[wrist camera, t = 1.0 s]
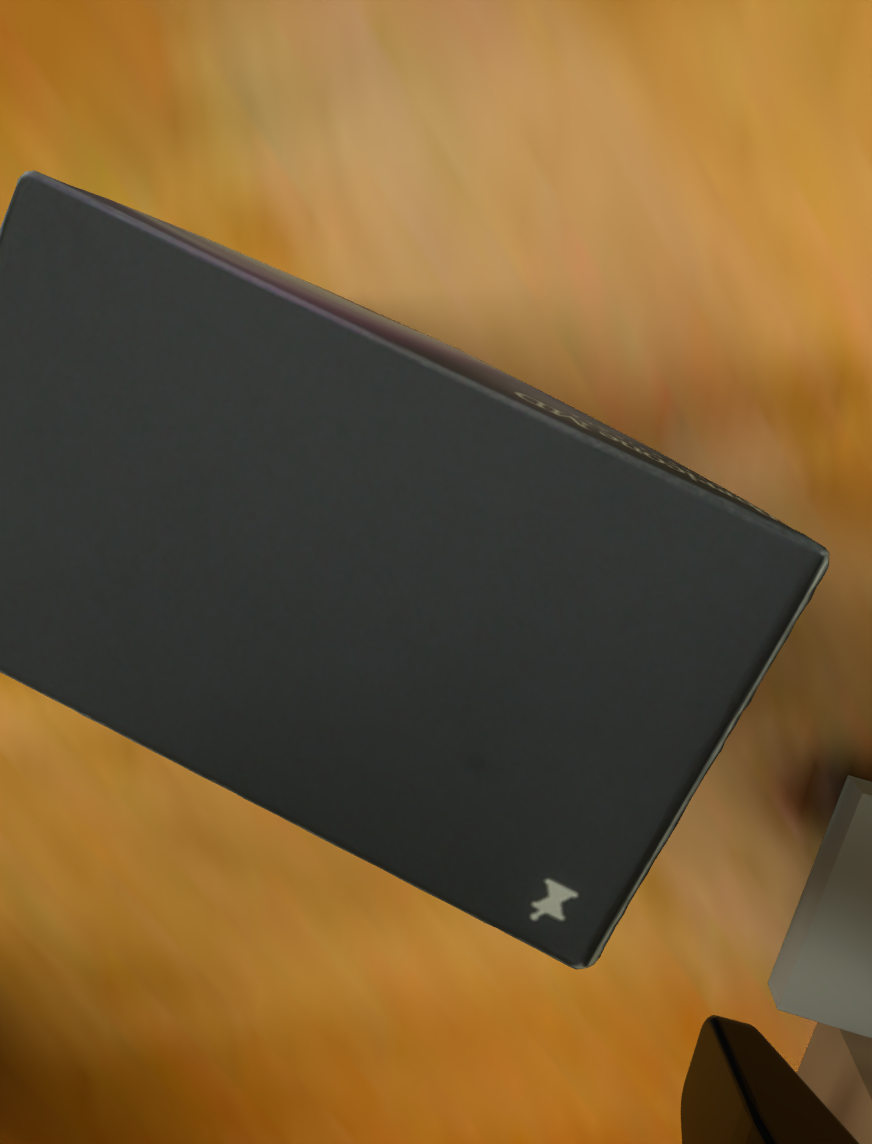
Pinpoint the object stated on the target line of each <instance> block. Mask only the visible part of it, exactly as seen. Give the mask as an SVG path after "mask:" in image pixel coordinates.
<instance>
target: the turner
mask: <svg viewBox="0 0 872 1144" xmlns="http://www.w3.org/2000/svg"><path fill="white" fill-rule="evenodd" d="M768 985H769V988H770V990H771V993H772V996H773V998H774V1001H775V1004H776V1007H777V1009H778V1010H781V1011H784V1012H787V1013H791V1014H794V1015H797V1016H800V1017H804V1018H807V1019H810V1020H813V1021H817V1025H816V1027H815V1030H814V1032H813V1035H812V1037H811V1040H810V1042H809V1045H808V1047H807V1049H806V1052H805V1054H804V1057H803V1059H802V1062H801V1064H800V1067H799V1069H798V1072H797V1074H798V1075H799V1077H800V1078H801V1079H802V1080H803V1081H804V1082H805V1083H806V1084H807V1085H808V1087H809V1088H810V1089H811V1090H812V1091H813V1092H814V1093H815V1094H816V1096H817V1097H818V1098H819V1099H820V1100H821V1101H822V1102H823V1103H824V1104H825V1106H826V1107H827V1108H828V1109H829V1110H830V1111H831V1112H832V1113H833V1114H834V1116H835V1117H836V1118H837V1119H838V1120H839V1121H840V1122H841V1123H842V1125H843V1126H844V1127H845V1128H846V1129H847V1130H848V1131H849V1132H850V1133H851V1135H852V1136H853V1137H854V1138H855V1139H856V1140H857V1141H858V1142H859V1143H860V1144H872V782H871V781H868V780H864V779H860V778H857V777H853V776H850V775H848V776H847V779H846V781H845V784H844V786H843V789H842V792H841V794H840V797H839V799H838V802H837V805H836V807H835V810H834V812H833V815H832V818H831V820H830V823H829V825H828V828H827V831H826V833H825V836H824V838H823V841H822V844H821V846H820V849H819V851H818V854H817V856H816V859H815V862H814V864H813V867H812V869H811V872H810V875H809V877H808V880H807V882H806V885H805V888H804V890H803V893H802V895H801V898H800V901H799V903H798V906H797V908H796V911H795V914H794V916H793V919H792V921H791V924H790V927H789V929H788V932H787V934H786V937H785V940H784V942H783V945H782V947H781V950H780V952H779V955H778V958H777V960H776V963H775V965H774V968H773V971H772V973H771V976H770V978H769V981H768Z"/></svg>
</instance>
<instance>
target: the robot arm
mask: <svg viewBox="0 0 872 1144" xmlns="http://www.w3.org/2000/svg"><path fill="white" fill-rule="evenodd" d="M681 1129H682V1144H860V1143H859V1142H858V1141H857V1140H856V1139H855V1138H854V1137H853V1136H852V1135H851V1133H850V1132H849V1131H848V1130H847V1129H846V1128H845V1127H844V1126H843V1125H842V1123H841V1122H840V1121H839V1120H838V1119H837V1118H836V1117H835V1116H834V1114H833V1113H832V1112H831V1111H830V1110H829V1109H828V1108H827V1107H826V1106H825V1104H824V1103H823V1102H822V1101H821V1100H820V1099H819V1098H818V1097H817V1096H816V1094H815V1093H814V1092H813V1091H812V1090H811V1089H810V1088H809V1087H808V1085H807V1084H806V1083H805V1082H804V1081H803V1080H802V1079H801V1078H800V1077H799V1075H798V1074H797V1073H796V1072H795V1071H794V1070H793V1069H792V1068H791V1067H790V1065H789V1064H788V1063H787V1062H786V1061H785V1060H784V1059H783V1058H782V1056H781V1055H780V1054H779V1053H778V1052H777V1051H776V1050H775V1049H774V1048H773V1046H772V1045H771V1044H770V1043H769V1042H768V1041H767V1040H766V1039H765V1038H764V1036H763V1035H762V1034H761V1033H760V1032H759V1031H758V1030H757V1029H756V1028H755V1027H753V1026H752V1025H750V1024H747V1023H743V1022H739V1021H735V1020H731V1019H728V1018H724V1017H720V1016H716V1015H713V1016H710V1017H708V1018H707V1019H706V1020H705V1022H704V1024H703V1025H702V1028H701V1031H700V1034H699V1037H698V1041H697V1044H696V1047H695V1050H694V1054H693V1057H692V1060H691V1063H690V1067H689V1070H688V1073H687V1076H686V1080H685V1083H684V1087H683V1092H682V1099H681Z"/></svg>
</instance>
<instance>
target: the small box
mask: <svg viewBox="0 0 872 1144" xmlns="http://www.w3.org/2000/svg"><path fill="white" fill-rule="evenodd" d="M828 566H829V552H828V551H827V549H826V548H825V547H823V546H822V545H820V544H819V543H817V542H815V541H814V540H812V539H810V538H809V537H807V536H806V535H804V534H802V533H800V532H798V531H796V530H794V529H792V528H790V527H789V526H787V525H785V524H784V523H782V522H780V521H779V520H777V519H775V518H774V517H772V516H771V515H769V514H768V513H766V512H764V511H763V510H761V509H759V508H757V507H756V506H754V505H752V504H751V503H749V502H747V501H746V500H744V499H742V498H740V497H738V496H736V495H735V494H733V493H731V492H729V491H728V490H726V489H724V488H722V487H721V486H719V485H717V484H715V483H713V482H711V481H710V480H708V479H706V478H704V477H702V476H700V475H699V474H697V473H695V472H693V471H691V470H690V469H688V468H686V467H684V466H682V465H681V464H679V463H677V462H675V461H674V460H672V459H670V458H668V457H666V456H665V455H663V454H661V453H659V452H657V451H656V450H654V449H652V448H650V447H648V446H646V445H644V444H642V443H640V442H638V441H636V440H634V439H632V438H631V437H629V436H627V435H625V434H623V433H621V432H619V431H617V430H615V429H613V428H611V427H609V426H607V425H605V424H604V423H602V422H600V421H598V420H596V419H594V418H592V417H590V416H588V415H586V414H584V413H582V412H580V411H578V410H577V409H575V408H573V407H571V406H569V405H567V404H565V403H563V402H561V401H559V400H557V399H555V398H553V397H551V396H550V395H548V394H546V393H544V392H542V391H540V390H538V389H536V388H534V387H532V386H530V385H528V384H526V383H524V382H522V381H520V380H518V379H516V378H514V377H512V376H510V375H508V374H506V373H504V372H502V371H500V370H498V369H496V368H494V367H492V366H490V365H488V364H486V363H484V362H482V361H480V360H478V359H476V358H474V357H472V356H470V355H468V354H466V353H464V352H462V351H460V350H458V349H456V348H454V347H452V346H450V345H447V344H445V343H443V342H441V341H438V340H436V339H434V338H432V337H429V336H427V335H425V334H423V333H420V332H418V331H416V330H414V329H411V328H409V327H407V326H405V325H403V324H400V323H398V322H396V321H394V320H391V319H389V318H387V317H385V316H382V315H380V314H378V313H376V312H374V311H371V310H369V309H367V308H365V307H363V306H360V305H358V304H356V303H354V302H352V301H350V300H347V299H345V298H343V297H341V296H339V295H336V294H334V293H332V292H330V291H327V290H325V289H323V288H321V287H318V286H316V285H314V284H311V283H309V282H307V281H304V280H302V279H300V278H297V277H295V276H293V275H290V274H288V273H286V272H283V271H281V270H279V269H276V268H274V267H272V266H269V265H267V264H265V263H262V262H260V261H258V260H255V259H253V258H251V257H248V256H246V255H244V254H241V253H239V252H237V251H234V250H232V249H230V248H227V247H225V246H223V245H220V244H218V243H216V242H213V241H211V240H209V239H206V238H204V237H202V236H199V235H197V234H194V233H192V232H189V231H187V230H184V229H182V228H179V227H177V226H174V225H172V224H169V223H167V222H164V221H162V220H159V219H157V218H154V217H152V216H149V215H147V214H144V213H142V212H139V211H137V210H134V209H132V208H129V207H127V206H124V205H122V204H119V203H117V202H114V201H112V200H109V199H107V198H104V197H101V196H98V195H96V194H93V193H90V192H87V191H84V190H82V189H79V188H76V187H73V186H71V185H68V184H65V183H63V182H60V181H58V180H56V179H53V178H51V177H48V176H46V175H44V174H41V173H39V172H36V171H27V172H25V173H24V174H23V175H22V176H21V177H20V178H19V179H18V182H17V186H16V189H15V191H14V194H13V197H12V199H11V202H10V205H9V207H8V210H7V212H6V215H5V218H4V220H3V223H2V225H1V228H0V672H1V673H3V674H5V675H7V676H9V677H11V678H13V679H15V680H17V681H18V682H20V683H22V684H24V685H26V686H28V687H30V688H32V689H34V690H36V691H38V692H40V693H42V694H44V695H46V696H47V697H49V698H51V699H53V700H55V701H57V702H59V703H61V704H63V705H65V706H67V707H69V708H71V709H73V710H75V711H76V712H78V713H80V714H81V715H83V716H85V717H87V718H89V719H91V720H93V721H95V722H98V723H100V724H102V725H104V726H106V727H108V728H110V729H111V730H113V731H115V732H117V733H119V734H121V735H123V736H124V737H126V738H128V739H130V740H132V741H134V742H136V743H138V744H140V745H142V746H144V747H146V748H147V749H149V750H151V751H153V752H155V753H157V754H159V755H161V756H163V757H165V758H167V759H169V760H171V761H173V762H175V763H177V764H179V765H181V766H183V767H185V768H187V769H188V770H190V771H192V772H194V773H196V774H198V775H200V776H202V777H204V778H206V779H208V780H210V781H212V782H214V783H216V784H218V785H220V786H222V787H224V788H226V789H228V790H230V791H232V792H234V793H236V794H237V795H239V796H241V797H243V798H244V799H246V800H248V801H250V802H252V803H254V804H256V805H258V806H260V807H262V808H264V809H266V810H268V811H270V812H272V813H274V814H276V815H278V816H280V817H282V818H284V819H285V820H287V821H289V822H291V823H293V824H295V825H297V826H299V827H301V828H303V829H305V830H306V831H308V832H310V833H312V834H314V835H316V836H318V837H320V838H322V839H324V840H326V841H328V842H329V843H331V844H333V845H335V846H337V847H339V848H341V849H343V850H345V851H347V852H349V853H351V854H353V855H355V856H357V857H359V858H361V859H363V860H365V861H367V862H369V863H371V864H373V865H375V866H377V867H379V868H381V869H383V870H385V871H387V872H389V873H390V874H392V875H394V876H396V877H398V878H400V879H402V880H403V881H405V882H407V883H409V884H411V885H413V886H415V887H417V888H418V889H420V890H422V891H424V892H426V893H428V894H430V895H432V896H434V897H436V898H438V899H440V900H442V901H444V902H446V903H448V904H450V905H452V906H454V907H456V908H458V909H460V910H462V911H464V912H466V913H468V914H469V915H471V916H473V917H475V918H477V919H479V920H481V921H483V922H484V923H487V924H489V925H491V926H493V927H496V928H498V929H500V930H501V931H503V932H505V933H506V934H508V935H510V936H512V937H514V938H516V939H518V940H520V941H522V942H524V943H526V944H528V945H530V946H532V947H534V948H536V949H538V950H539V951H541V952H543V953H545V954H547V955H549V956H551V957H552V958H554V959H556V960H558V961H560V962H562V963H563V964H565V965H567V966H569V967H572V968H574V969H584V968H588V967H590V966H592V965H594V964H595V962H596V961H597V960H598V959H599V958H600V956H601V954H602V952H603V950H604V948H605V945H606V944H607V942H608V940H609V939H610V937H611V935H612V933H613V931H614V929H615V927H616V925H617V924H618V922H619V921H620V919H621V918H622V916H623V915H624V913H625V911H626V909H627V907H628V904H629V903H630V901H631V899H632V898H633V896H634V894H635V893H636V891H637V889H638V888H639V886H640V885H641V883H642V882H643V880H644V878H645V877H646V875H647V874H648V872H649V870H650V868H651V866H652V864H653V863H654V861H655V859H656V858H657V856H658V855H659V853H660V852H661V850H662V848H663V847H664V845H665V844H666V842H667V840H668V839H669V837H670V835H671V834H672V832H673V830H674V829H675V827H676V825H677V824H678V822H679V820H680V818H681V816H682V814H683V813H684V811H685V809H686V807H687V805H688V803H689V801H690V800H691V798H692V796H693V795H694V793H695V791H696V790H697V788H698V786H699V785H700V783H701V781H702V780H703V778H704V776H705V775H706V773H707V771H708V770H709V768H710V767H711V765H712V763H713V762H714V760H715V759H716V757H717V756H718V754H719V753H720V752H721V750H722V748H723V746H724V743H725V740H726V739H727V737H728V736H729V735H730V733H731V732H732V730H733V729H734V727H735V725H736V723H737V722H738V720H739V718H740V716H741V714H742V712H743V711H744V710H745V708H746V707H747V706H748V705H749V703H750V702H751V700H752V698H753V696H754V694H755V692H756V689H757V687H758V686H759V684H760V682H761V681H762V679H763V677H764V675H765V674H766V672H767V670H768V669H769V667H770V666H771V664H772V662H773V661H774V659H775V657H776V656H777V654H778V652H779V651H780V649H781V647H782V646H783V644H784V643H785V641H786V640H787V638H788V636H789V634H790V632H791V630H792V628H793V626H794V624H795V622H796V621H797V619H798V618H799V616H800V614H801V613H802V611H803V610H804V608H805V607H806V605H807V604H808V603H809V601H810V600H811V598H812V596H813V594H814V591H815V589H816V587H817V585H818V584H819V582H820V581H821V579H822V578H823V576H824V575H825V573H826V571H827V569H828Z"/></svg>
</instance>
